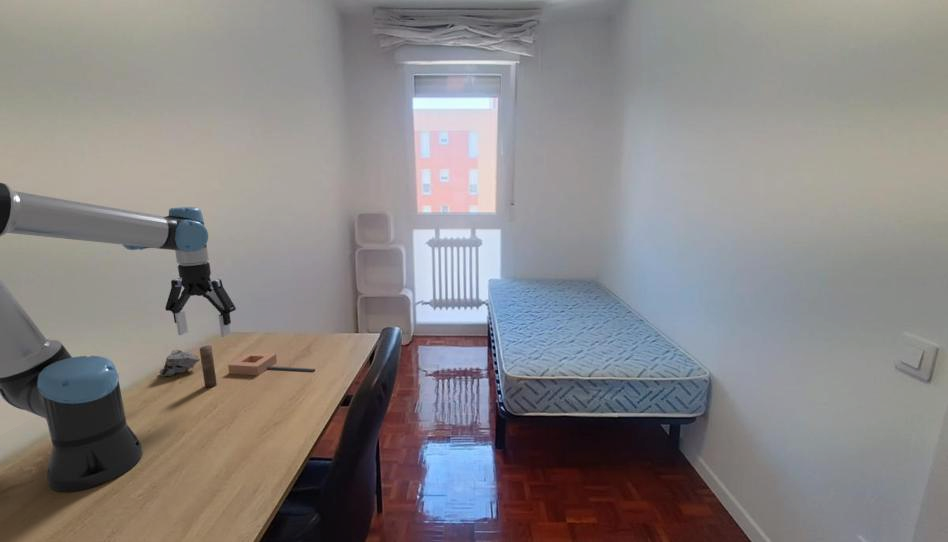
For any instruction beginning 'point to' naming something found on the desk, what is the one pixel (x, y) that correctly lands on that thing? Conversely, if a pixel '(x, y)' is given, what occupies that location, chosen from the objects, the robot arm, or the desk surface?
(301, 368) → the strip
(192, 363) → the mineral specimen
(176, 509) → the desk surface
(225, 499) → the desk surface
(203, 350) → the dowel
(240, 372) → the pink square frame
